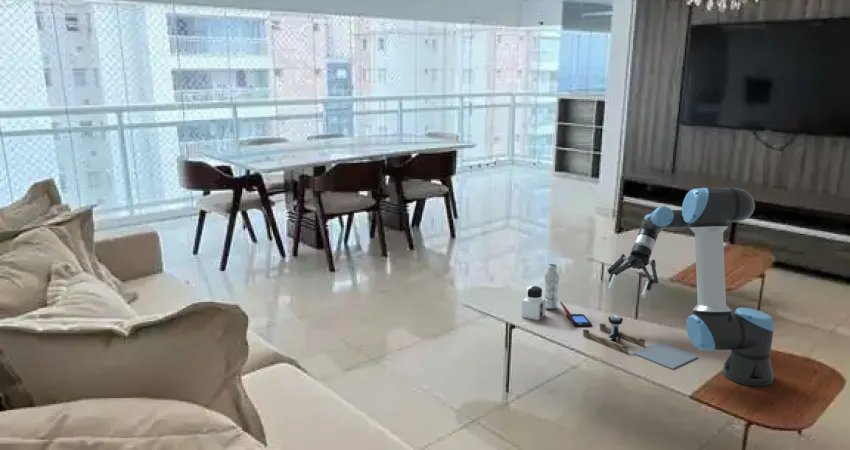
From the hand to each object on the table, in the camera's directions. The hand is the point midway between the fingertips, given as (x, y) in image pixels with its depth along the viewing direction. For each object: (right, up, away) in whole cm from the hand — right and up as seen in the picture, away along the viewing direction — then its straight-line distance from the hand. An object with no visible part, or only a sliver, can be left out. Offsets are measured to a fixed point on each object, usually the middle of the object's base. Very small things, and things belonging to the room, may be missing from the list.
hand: (626, 293), depth 242 cm
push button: (-7, -18, -5) cm, 20 cm away
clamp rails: (-7, -18, -5) cm, 20 cm away
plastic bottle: (-24, -10, +30) cm, 40 cm away
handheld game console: (-17, -14, +15) cm, 26 cm away
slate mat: (+8, -21, -18) cm, 29 cm away
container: (-33, -13, +21) cm, 41 cm away
